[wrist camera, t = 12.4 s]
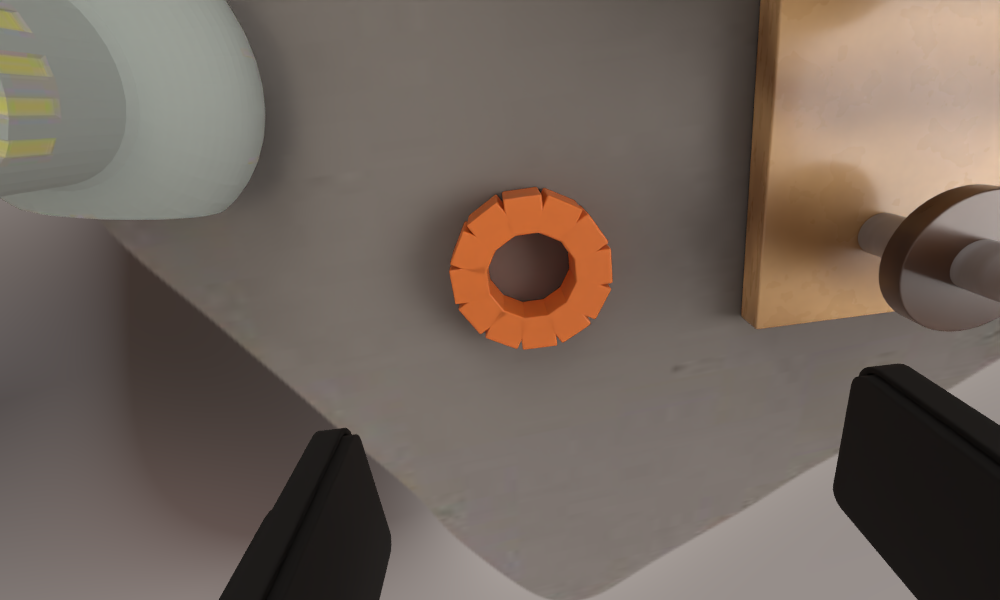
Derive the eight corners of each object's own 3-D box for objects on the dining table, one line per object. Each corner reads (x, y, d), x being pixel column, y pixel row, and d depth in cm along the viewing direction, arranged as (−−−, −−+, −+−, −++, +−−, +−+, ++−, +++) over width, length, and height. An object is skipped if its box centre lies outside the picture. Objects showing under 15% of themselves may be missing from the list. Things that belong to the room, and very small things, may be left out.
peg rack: (772, -213, 16) (1048, -528, 8) (1074, -264, 16) (1674, -647, 8) (740, 316, 24) (867, 423, 16) (945, 290, 23) (1182, 384, 15)
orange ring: (597, 177, 21) (608, 184, 19) (606, 320, 24) (615, 338, 22) (442, 199, 21) (437, 208, 19) (467, 338, 24) (465, 357, 22)
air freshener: (282, -16, 18) (59, -150, 9) (300, 201, 21) (149, 274, 12) (-18, -44, 17) (-593, -217, 8) (45, 183, 21) (-321, 244, 11)
